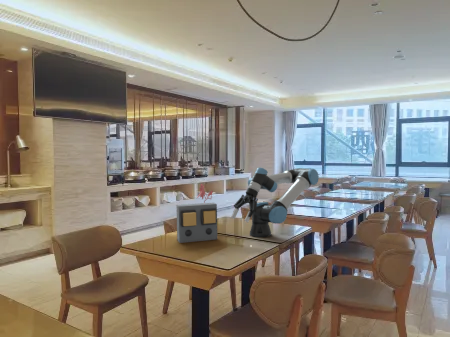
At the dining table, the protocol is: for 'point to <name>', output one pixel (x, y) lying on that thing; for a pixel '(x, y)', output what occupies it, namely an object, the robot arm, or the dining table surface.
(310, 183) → the robot arm
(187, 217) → the switch key
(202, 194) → the red coral
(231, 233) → the dining table surface
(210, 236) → the grey knob panel box
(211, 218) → the switch key
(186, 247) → the dining table surface
